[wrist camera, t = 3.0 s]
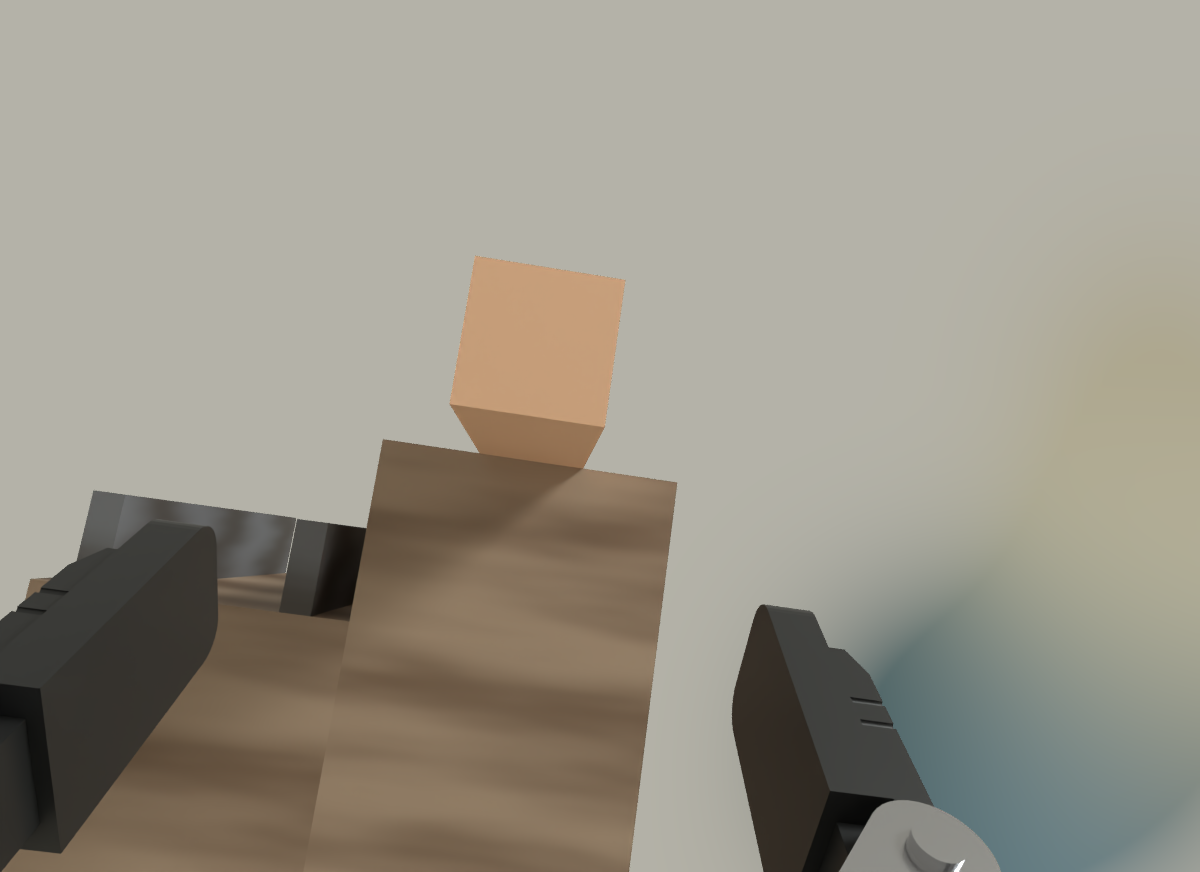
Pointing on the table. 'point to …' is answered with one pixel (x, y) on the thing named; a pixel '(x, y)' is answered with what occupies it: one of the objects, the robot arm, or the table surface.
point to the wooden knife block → (403, 680)
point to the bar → (536, 361)
